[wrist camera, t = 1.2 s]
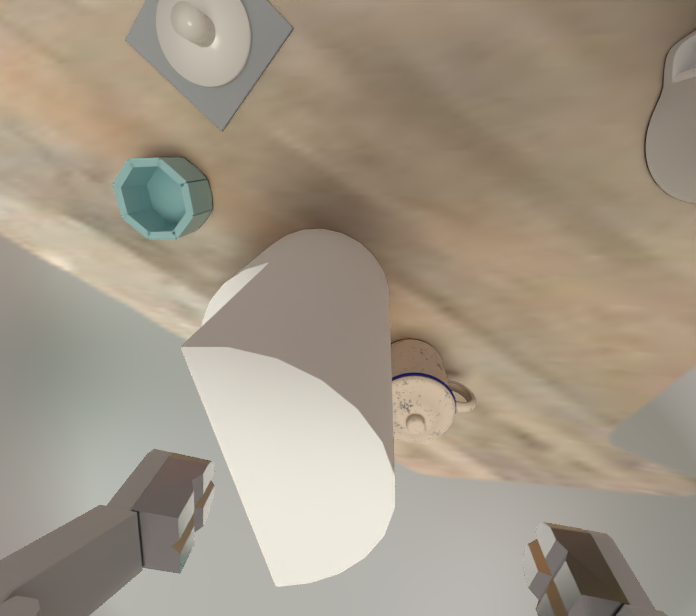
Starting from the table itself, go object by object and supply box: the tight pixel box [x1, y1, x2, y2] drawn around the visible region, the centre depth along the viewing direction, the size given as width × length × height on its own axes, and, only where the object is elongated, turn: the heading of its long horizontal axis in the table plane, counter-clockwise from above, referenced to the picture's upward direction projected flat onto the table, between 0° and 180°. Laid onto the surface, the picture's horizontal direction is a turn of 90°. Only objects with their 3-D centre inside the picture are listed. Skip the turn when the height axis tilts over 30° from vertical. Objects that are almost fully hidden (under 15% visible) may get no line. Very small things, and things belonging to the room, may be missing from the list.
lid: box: [156, 0, 252, 88], centre depth 34 cm, size 9×9×4 cm
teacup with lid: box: [391, 339, 476, 443], centre depth 43 cm, size 12×9×12 cm
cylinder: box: [181, 229, 395, 587], centre depth 33 cm, size 17×17×28 cm
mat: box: [125, 0, 293, 131], centre depth 36 cm, size 12×12×1 cm
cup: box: [113, 157, 213, 239], centre depth 40 cm, size 8×8×5 cm
